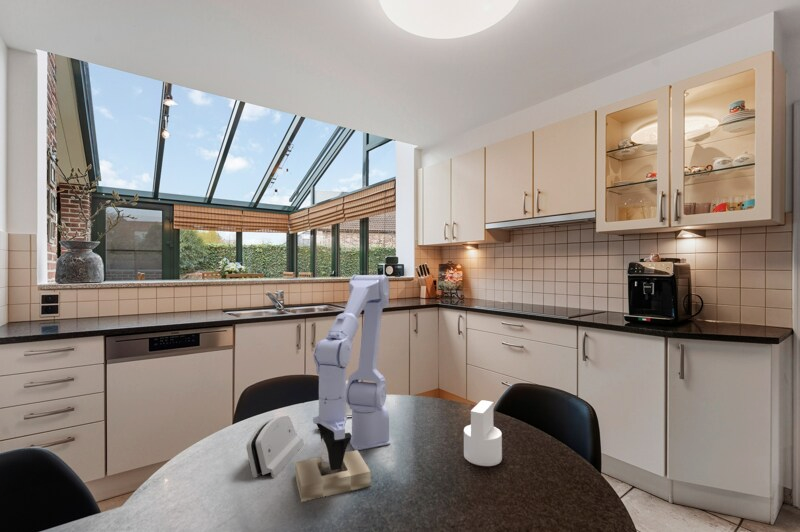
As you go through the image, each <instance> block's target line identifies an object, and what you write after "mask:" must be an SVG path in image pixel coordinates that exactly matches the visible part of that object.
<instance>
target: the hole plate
mask: <svg viewBox="0 0 800 532" xmlns="http://www.w3.org/2000/svg"><path fill="white" fill-rule="evenodd" d="M294 464H295V465H294V471H295V472H294V475H295V476H294V477H295V480H296V485H297V489H298V493H299V498H301V499H300V502H301V503H304V502H308V501H307V500H309V501H311V499H313V500H316V499H315V498H317V499H320V498H319V497H321V498H325V496H326V497H330V496H333V495H338V494H343V493H345V492H346V491H347V492H350V491H351V490H352V491H355V490H361V489H364V488H368V487H371V482H372V481H371V472H372V471H371V470H370V467H368V465H367V463H366V461H365V460H364V459H363V457H362V455H361V453H360V452H359V450H351V451H345V454H344V459H343V463H342V467H341V472H338V473H333V474H328V475H324V476H321V466H322V456H319V457H315V458H314V457H313V458H308V459H305V460H304V459H303V460H298V461H295V463H294ZM352 491H351V492H352ZM347 492H346V493H347ZM303 501H304V502H303Z"/></svg>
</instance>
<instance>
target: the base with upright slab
mask: <svg viewBox="0 0 800 532" xmlns="http://www.w3.org/2000/svg"><path fill="white" fill-rule="evenodd" d="M502 442H503V433H502V431H501V430H500V429H499V428H497V427H496V426H494V402H493V401H489V400H484V399H483V400H480V401H479V402H478V403H477V404H476V405H475V406H474V407H473V408H472V409H471V410H470V424H468V425H466V426H464V428H463V457H464V458H465V460H467V462H469V463H471V464H473V465H476V466H482V467H492V466H497V465H498V464H500V463H501V462H502V460H503V447H502V446H503V443H502Z"/></svg>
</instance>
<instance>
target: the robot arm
mask: <svg viewBox="0 0 800 532" xmlns="http://www.w3.org/2000/svg"><path fill="white" fill-rule="evenodd" d="M390 286H391V285H390V280H389V278H388V277H387V275H386V274H363V275H362V274H353V275H352V276H351V278H350V279H349V284H348V290H349V296H348V300H347V303H346V305H345V307H344V310H343V312H342V313H339V314H337V315H336V316H335V319H334V321H333V322H332V325H331V327H330V328H329V331H328V332H327V334H326V336H325V338H323V339H321V340H320V341H318V342H317V343H316V345H315V347H314V350H313V351H314V353H313V356H312V357H313V362H314V364H315V366H316V367H315V368H316V371H315V372H316V374H317V375H318V416H315V417H313V418H312V422H313V424H316V426H317V429H318V431H319V435H320V441H321V443H322V438H323V440H324V442H325V444H326V447H327V451H328V457H329V464H330V468H331V470H336V469H341V467H342V463H343V459H344V454H345V452H347V451H346V450H347V448H348V445H349V444H350V445H351V447H352V448H353V449H354V450H353V451H355V450H358V451H361V450H368V449H371V448H378V447H382V446H388V445H391V441H390V414H389V410H388V408H387V406H386V405H385V403H386V399H387V388H386V387H387V386H386V384H387V380H386V378H385V376H384V375H383V374H382V373H380V371H379V370H378V368H377V367H378V360H379V359H378V356H379V349H380V348H379V347H380V346H379V345H380V336H381V325H382V315H383V309H385V308H386V307H388V305H389V298H390V289H391V287H390ZM362 311H364V312H363V322H362V328H361V329H362V331H361V332H362V333H361V339H360V340H361V341H360V347H359V348H360V350H359V351H360V352H359V359H358V368H357V369H356V370H355V371H354V372H353V373H351V374H350V375H349V376H348V379H347V366H348V364H350V360H351V358H352V349H353V344H352V343H353V340H354V338H355V337H356V334H357V332H358V330H359V325H360V324H359V320H358V318H359V316H360V314H361V313H362ZM347 380H348V384H347V387H346V381H347ZM359 381H360V382H359ZM369 381H370V382H369ZM346 403H347V404H348V405H350V409H352V418H351V432H346V423H347V420H348V419H347V415H346Z"/></svg>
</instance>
